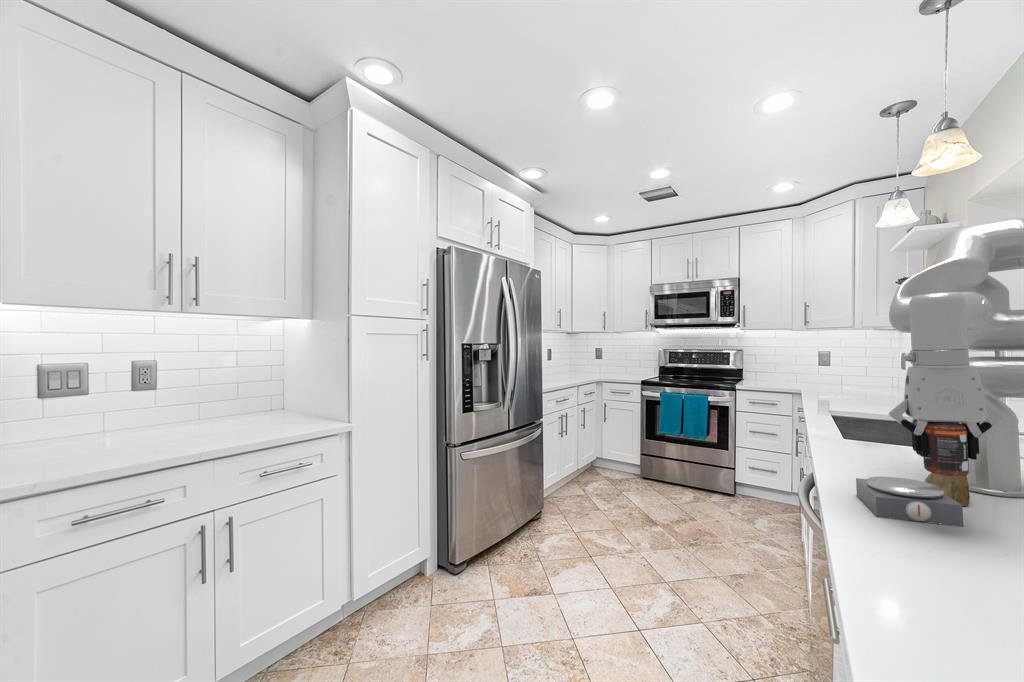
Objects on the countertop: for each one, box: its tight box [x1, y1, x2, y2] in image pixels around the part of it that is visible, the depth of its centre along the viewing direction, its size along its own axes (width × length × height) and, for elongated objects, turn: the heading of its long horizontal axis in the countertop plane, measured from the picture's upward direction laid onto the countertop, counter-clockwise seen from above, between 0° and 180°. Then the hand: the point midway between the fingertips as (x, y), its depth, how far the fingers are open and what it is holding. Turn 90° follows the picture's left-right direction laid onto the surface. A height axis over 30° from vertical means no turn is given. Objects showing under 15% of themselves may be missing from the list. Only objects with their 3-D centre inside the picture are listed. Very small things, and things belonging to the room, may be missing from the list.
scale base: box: [855, 477, 964, 528], centre depth 90 cm, size 14×13×4 cm
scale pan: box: [866, 476, 944, 498], centre depth 91 cm, size 12×12×1 cm
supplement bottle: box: [922, 422, 969, 476], centre depth 79 cm, size 6×6×11 cm
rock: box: [923, 472, 971, 507], centre depth 97 cm, size 11×9×10 cm
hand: (945, 455), depth 79 cm, fingers closed on supplement bottle, 6 cm apart
